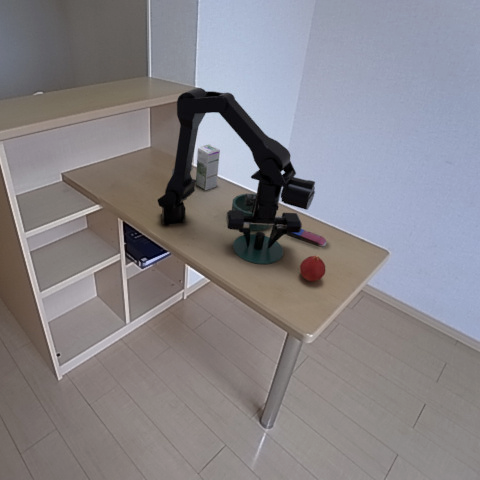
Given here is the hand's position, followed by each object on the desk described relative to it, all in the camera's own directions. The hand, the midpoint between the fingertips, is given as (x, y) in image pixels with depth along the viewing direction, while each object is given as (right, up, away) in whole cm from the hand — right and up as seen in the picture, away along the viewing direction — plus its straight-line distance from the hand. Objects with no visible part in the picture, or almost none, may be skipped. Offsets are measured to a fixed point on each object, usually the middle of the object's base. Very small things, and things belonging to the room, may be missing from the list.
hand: (258, 246), depth 102 cm
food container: (-19, +20, +31) cm, 42 cm away
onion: (+10, -8, -9) cm, 16 cm away
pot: (+1, +8, +13) cm, 16 cm away
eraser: (+15, +2, +5) cm, 16 cm away
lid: (0, -1, 0) cm, 1 cm away
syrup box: (-10, +22, +33) cm, 41 cm away
